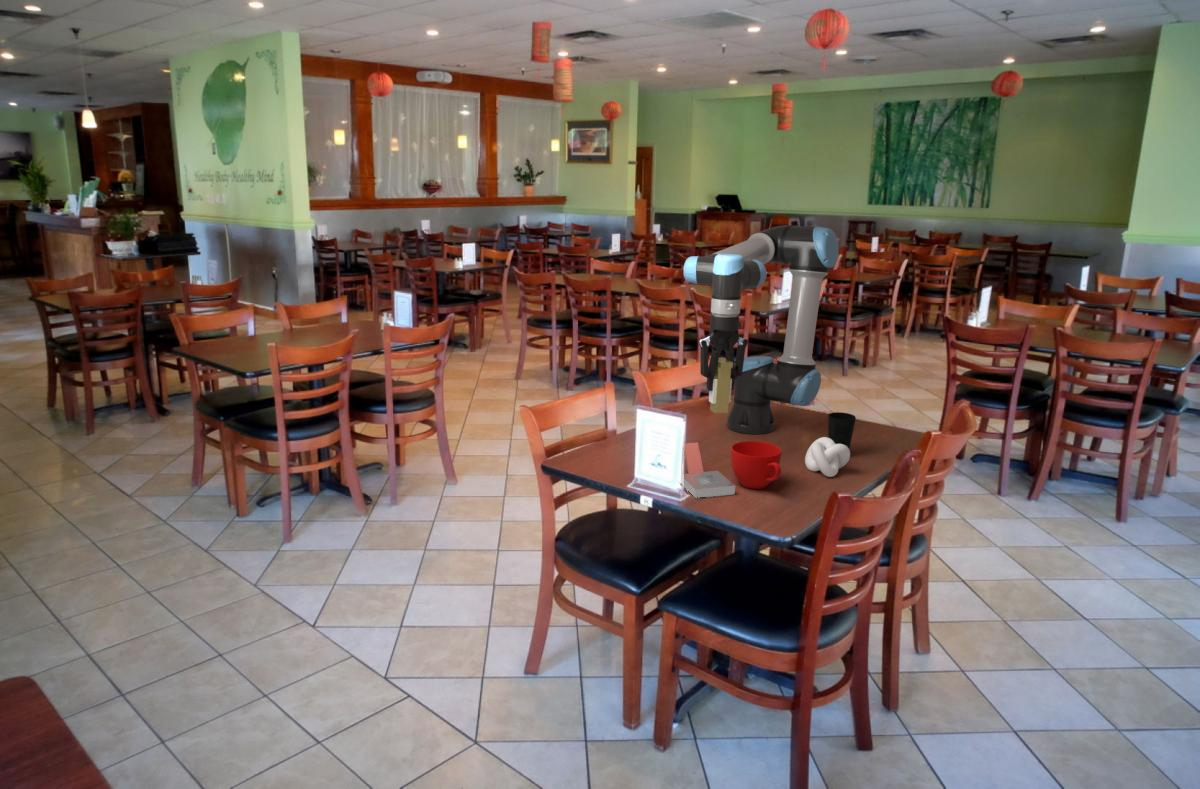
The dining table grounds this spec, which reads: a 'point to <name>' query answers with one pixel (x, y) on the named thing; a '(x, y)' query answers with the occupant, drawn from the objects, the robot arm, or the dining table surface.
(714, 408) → the khaki tall block
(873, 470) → the dining table surface
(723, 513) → the dining table surface
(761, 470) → the ceramic cup
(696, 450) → the reddish flat block
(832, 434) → the cup
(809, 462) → the white knot
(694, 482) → the socket block
